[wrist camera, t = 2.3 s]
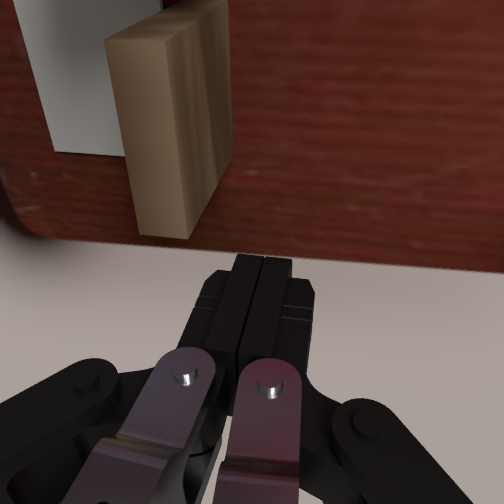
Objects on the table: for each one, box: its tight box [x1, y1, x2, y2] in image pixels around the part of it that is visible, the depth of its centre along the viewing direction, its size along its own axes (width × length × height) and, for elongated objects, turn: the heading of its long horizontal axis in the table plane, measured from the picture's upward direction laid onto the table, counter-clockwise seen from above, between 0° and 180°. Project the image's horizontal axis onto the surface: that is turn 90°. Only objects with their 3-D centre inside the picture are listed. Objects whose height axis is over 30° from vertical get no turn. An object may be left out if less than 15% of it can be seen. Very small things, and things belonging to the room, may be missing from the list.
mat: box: [13, 0, 163, 156], centre depth 30 cm, size 9×10×1 cm
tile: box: [104, 0, 234, 239], centre depth 25 cm, size 3×9×10 cm, turn 1°
